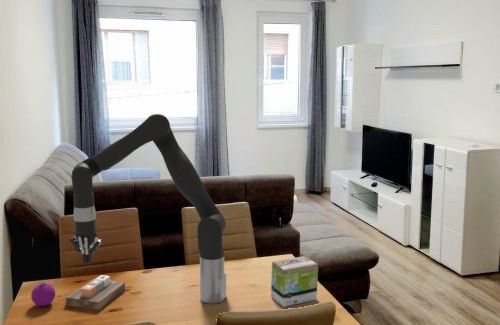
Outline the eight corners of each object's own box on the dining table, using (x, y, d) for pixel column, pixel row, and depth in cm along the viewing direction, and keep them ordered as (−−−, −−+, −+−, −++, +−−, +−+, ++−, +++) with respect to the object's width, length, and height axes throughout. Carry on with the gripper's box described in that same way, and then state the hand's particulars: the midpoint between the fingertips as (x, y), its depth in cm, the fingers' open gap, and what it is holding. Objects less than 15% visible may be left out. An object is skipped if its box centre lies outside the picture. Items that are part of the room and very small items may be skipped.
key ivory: (110, 283, 186) (110, 275, 186) (104, 288, 182) (104, 279, 182) (101, 282, 187) (101, 274, 187) (95, 286, 183) (95, 278, 183)
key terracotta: (97, 293, 178) (96, 285, 177) (90, 298, 174) (90, 289, 173) (87, 292, 179) (87, 283, 178) (81, 296, 175) (80, 288, 174)
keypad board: (125, 289, 188) (124, 282, 187) (98, 310, 171) (98, 302, 170) (94, 285, 192) (94, 278, 191) (66, 305, 174) (65, 297, 174)
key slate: (103, 288, 182) (103, 280, 181) (97, 292, 178) (97, 284, 178) (94, 287, 183) (94, 279, 182) (88, 291, 179) (88, 283, 179)
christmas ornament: (34, 301, 178) (32, 276, 176) (57, 298, 180) (55, 274, 178) (30, 311, 170) (28, 285, 168) (54, 308, 172) (52, 282, 170)
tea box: (284, 308, 173) (284, 270, 170) (270, 297, 182) (270, 261, 179) (317, 299, 180) (318, 263, 177) (303, 289, 188) (303, 254, 186)
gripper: (106, 216, 173) (108, 261, 176) (75, 213, 177) (78, 257, 180) (94, 222, 166) (96, 268, 169) (62, 219, 170) (65, 264, 173)
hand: (87, 263), depth 174 cm, fingers closed
